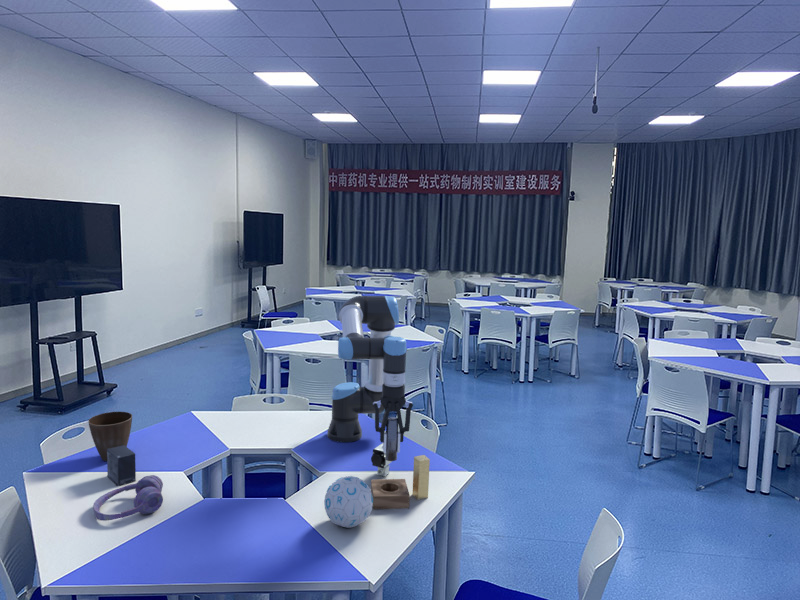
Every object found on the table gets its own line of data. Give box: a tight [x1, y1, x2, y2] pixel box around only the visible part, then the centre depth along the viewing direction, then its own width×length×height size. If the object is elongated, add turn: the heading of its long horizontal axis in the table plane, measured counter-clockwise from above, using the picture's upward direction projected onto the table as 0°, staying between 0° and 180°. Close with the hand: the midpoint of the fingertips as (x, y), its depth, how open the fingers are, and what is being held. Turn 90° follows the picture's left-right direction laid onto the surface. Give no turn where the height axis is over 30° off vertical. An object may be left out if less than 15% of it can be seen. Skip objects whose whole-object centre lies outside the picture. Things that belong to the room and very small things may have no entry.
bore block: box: [370, 478, 410, 510], centre depth 187 cm, size 12×12×4 cm
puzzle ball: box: [324, 475, 373, 529], centre depth 171 cm, size 15×15×15 cm
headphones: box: [92, 474, 164, 521], centre depth 175 cm, size 18×8×20 cm
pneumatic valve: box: [370, 442, 393, 477], centre depth 205 cm, size 6×12×12 cm, turn 152°
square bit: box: [412, 454, 431, 501], centre depth 190 cm, size 4×4×14 cm
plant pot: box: [88, 411, 133, 462], centre depth 211 cm, size 15×15×16 cm
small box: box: [106, 445, 137, 487], centre depth 195 cm, size 11×6×10 cm, turn 47°
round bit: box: [385, 416, 399, 462], centre depth 184 cm, size 4×4×14 cm
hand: (391, 450), depth 185 cm, fingers closed on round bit, 4 cm apart
